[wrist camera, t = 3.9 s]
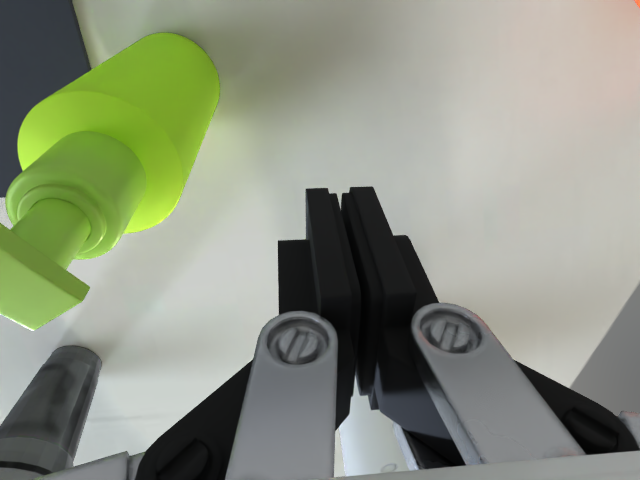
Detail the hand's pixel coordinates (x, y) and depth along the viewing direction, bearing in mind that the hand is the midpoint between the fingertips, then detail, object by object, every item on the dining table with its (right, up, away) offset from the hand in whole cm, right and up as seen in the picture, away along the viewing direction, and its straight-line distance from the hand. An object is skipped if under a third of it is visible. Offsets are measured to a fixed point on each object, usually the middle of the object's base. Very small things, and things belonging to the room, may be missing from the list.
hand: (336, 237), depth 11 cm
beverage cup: (-24, -12, +29) cm, 39 cm away
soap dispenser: (-10, +10, +16) cm, 21 cm away
